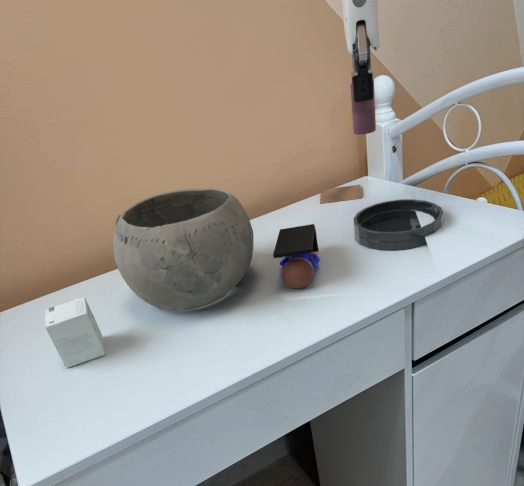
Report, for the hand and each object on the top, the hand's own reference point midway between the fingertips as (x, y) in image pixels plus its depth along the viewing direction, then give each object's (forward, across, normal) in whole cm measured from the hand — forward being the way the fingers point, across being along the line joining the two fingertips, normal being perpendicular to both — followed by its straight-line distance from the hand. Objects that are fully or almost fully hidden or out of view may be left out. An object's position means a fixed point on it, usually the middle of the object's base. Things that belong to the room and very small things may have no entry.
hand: (362, 96), depth 86 cm
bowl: (+22, -23, +31) cm, 44 cm away
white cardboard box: (+22, -40, +45) cm, 64 cm away
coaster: (+22, +14, +5) cm, 26 cm away
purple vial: (+6, 0, 0) cm, 6 cm away
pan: (+22, -10, -4) cm, 24 cm away
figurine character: (+22, -21, +13) cm, 33 cm away
